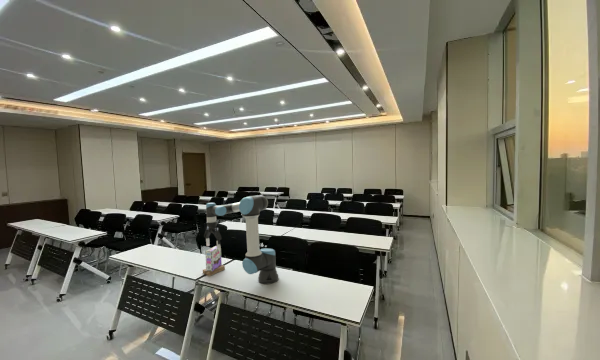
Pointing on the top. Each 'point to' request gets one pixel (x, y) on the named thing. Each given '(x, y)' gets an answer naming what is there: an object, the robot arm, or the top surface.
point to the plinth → (214, 270)
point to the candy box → (213, 258)
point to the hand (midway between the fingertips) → (213, 247)
